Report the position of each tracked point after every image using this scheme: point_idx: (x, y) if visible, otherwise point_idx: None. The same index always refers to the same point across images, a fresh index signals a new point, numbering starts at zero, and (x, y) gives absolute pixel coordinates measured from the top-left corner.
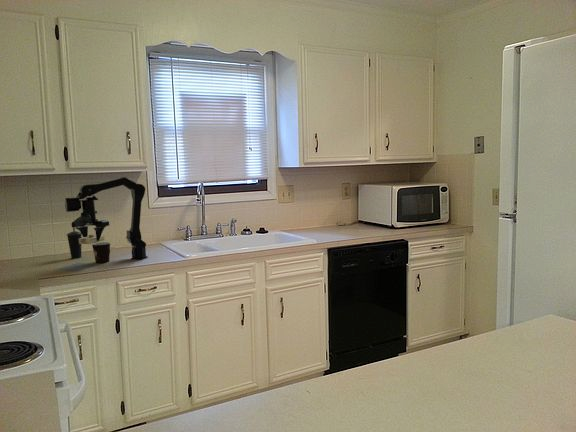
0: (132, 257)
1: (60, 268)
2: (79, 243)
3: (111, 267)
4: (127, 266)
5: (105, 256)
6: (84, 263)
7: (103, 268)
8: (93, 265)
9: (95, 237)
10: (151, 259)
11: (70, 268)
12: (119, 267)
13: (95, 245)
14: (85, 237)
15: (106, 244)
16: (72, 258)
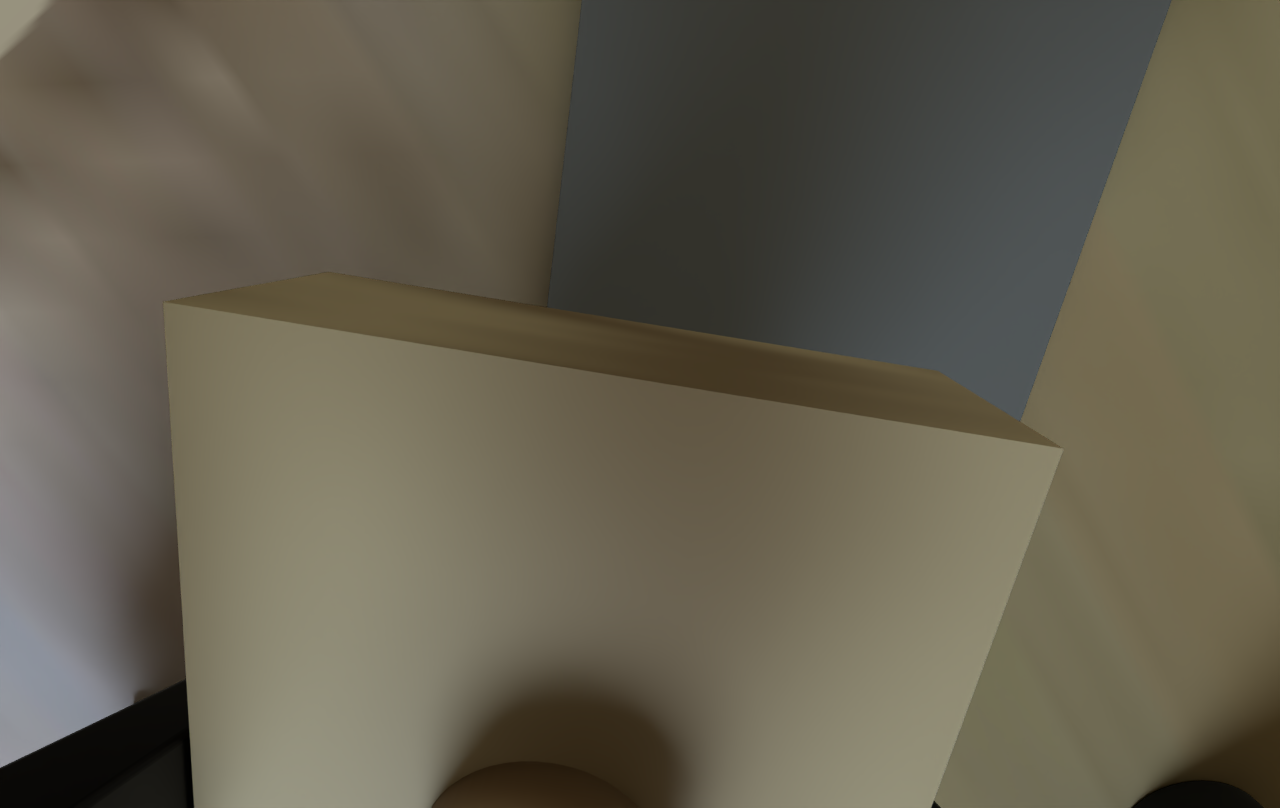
0: None
1: (1113, 36)
2: (925, 372)
3: (210, 228)
4: (6, 304)
5: None
6: None
7: (294, 147)
8: (575, 308)
9: (214, 723)
10: (15, 719)
11: (889, 43)
12: (78, 230)
13: None
14: (832, 805)
15: None
16: (1243, 796)
